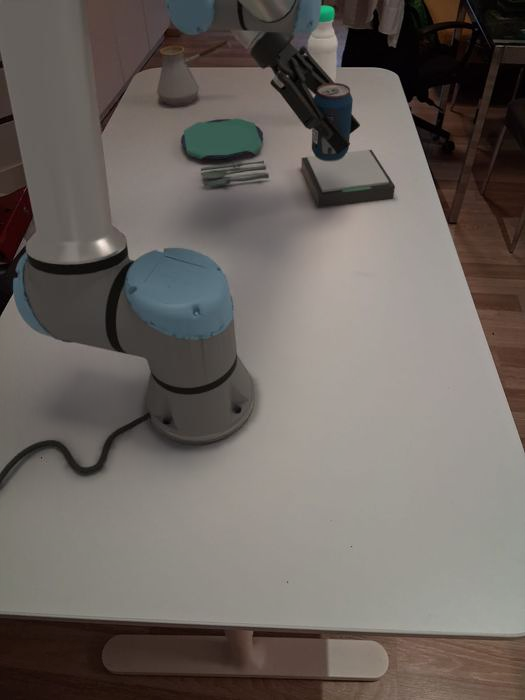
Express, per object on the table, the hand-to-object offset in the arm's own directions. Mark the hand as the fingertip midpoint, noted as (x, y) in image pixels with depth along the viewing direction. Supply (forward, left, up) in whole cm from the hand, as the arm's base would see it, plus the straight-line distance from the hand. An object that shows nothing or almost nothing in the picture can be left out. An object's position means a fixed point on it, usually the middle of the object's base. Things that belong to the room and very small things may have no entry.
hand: (349, 139), depth 99 cm
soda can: (-3, +2, -4) cm, 5 cm away
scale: (+3, +10, -15) cm, 18 cm away
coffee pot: (-25, +62, -15) cm, 68 cm away
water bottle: (+5, +42, -15) cm, 44 cm away
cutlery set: (-21, +29, -15) cm, 38 cm away
